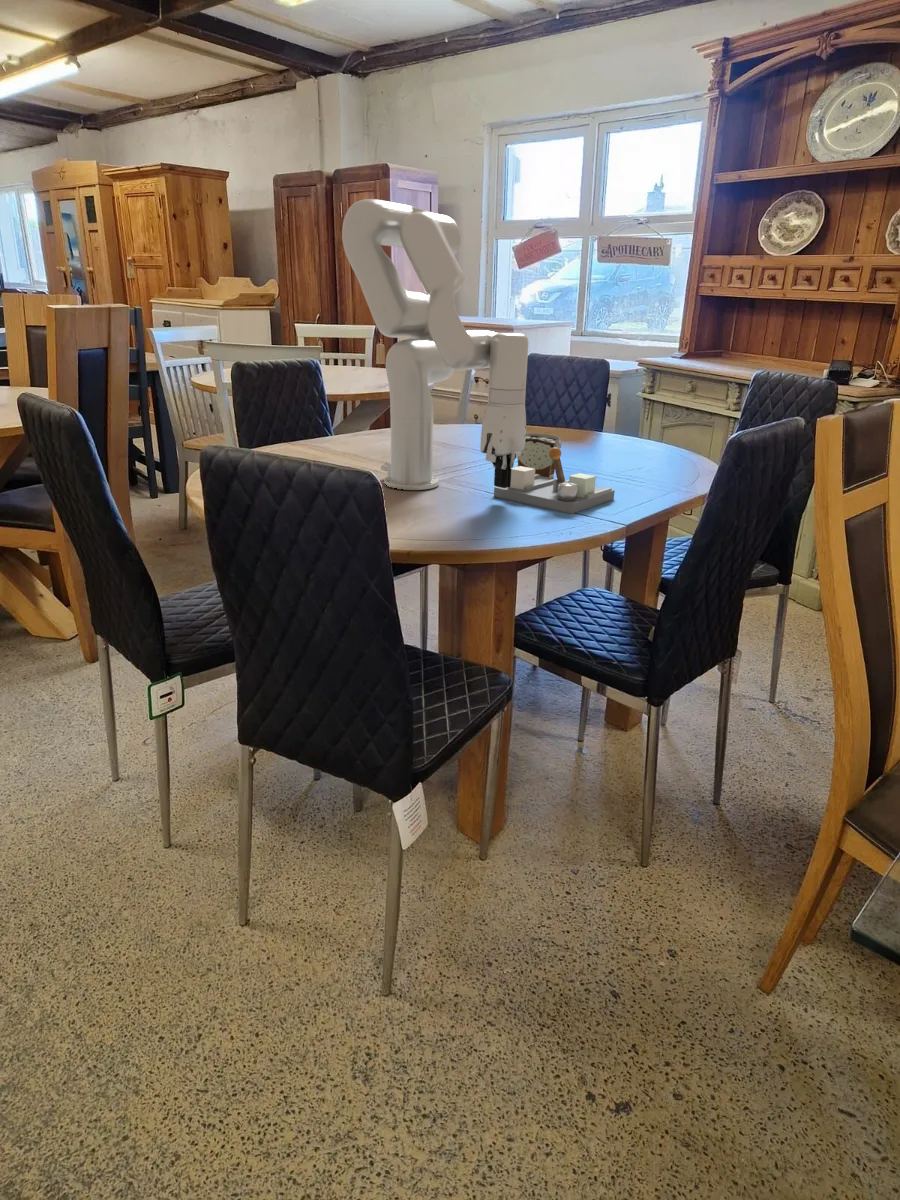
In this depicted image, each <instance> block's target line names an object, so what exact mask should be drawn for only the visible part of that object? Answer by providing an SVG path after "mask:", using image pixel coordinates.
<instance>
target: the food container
mask: <svg viewBox="0 0 900 1200" xmlns="http://www.w3.org/2000/svg"><path fill="white" fill-rule="evenodd" d="M561 441H562V440H561V437H559V436H557V435H555V434H548V433H539V432H526V440H525V447H524V449H523V450H522V451H521V455H520V456H518V457H517V467H518V466H523V467H528V468H533V469H535V474H539V475H540V476H543V477H548V478H554V477H555V476H554V475H555V468H554V463H553V459H551V458H550V457H549V451H550V449H551V448H553V447H557V448H559V449H560V450H561V449H562V442H561Z"/></svg>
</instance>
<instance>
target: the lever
mask: <svg viewBox="0 0 900 1200" xmlns="http://www.w3.org/2000/svg"><path fill="white" fill-rule="evenodd" d="M549 457H550V458H551V459H553V463H554V468H555V471H554V473H555V475H556V478H557V480H558V484H559V483H564V481H566V477H565V474H564V469H563V465H562V461H561V457H562V450H561V448H560V449H559V448H557V447H553V448H551V449H550V451H549Z"/></svg>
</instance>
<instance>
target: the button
mask: <svg viewBox="0 0 900 1200" xmlns="http://www.w3.org/2000/svg"><path fill="white" fill-rule="evenodd" d="M577 491H578V485H577V484H574V483H559V484H558V495H557V499H558V500H560V501H567V502H572V501H576V500H577Z"/></svg>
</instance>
